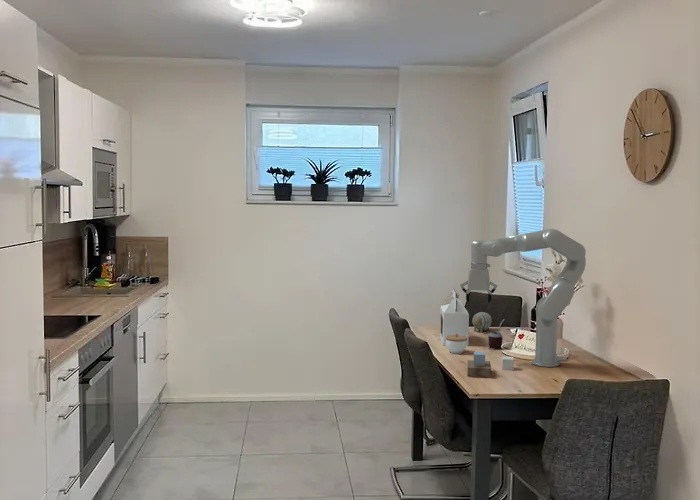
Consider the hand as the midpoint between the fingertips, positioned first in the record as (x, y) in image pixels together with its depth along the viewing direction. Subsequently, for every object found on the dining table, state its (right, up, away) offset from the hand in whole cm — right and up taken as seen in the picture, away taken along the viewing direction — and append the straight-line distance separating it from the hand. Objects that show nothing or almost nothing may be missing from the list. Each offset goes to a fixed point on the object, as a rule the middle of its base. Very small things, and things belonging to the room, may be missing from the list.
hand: (478, 302), depth 313 cm
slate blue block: (-4, -26, -21) cm, 34 cm away
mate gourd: (+14, -26, +28) cm, 41 cm away
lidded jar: (-8, -27, +19) cm, 34 cm away
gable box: (-5, -25, +44) cm, 51 cm away
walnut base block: (-4, -30, -20) cm, 37 cm away
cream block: (+11, -30, -12) cm, 34 cm away
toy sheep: (+16, -23, +72) cm, 77 cm away
